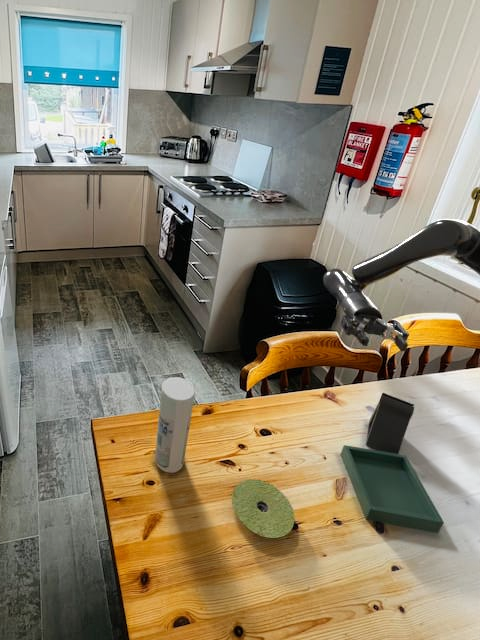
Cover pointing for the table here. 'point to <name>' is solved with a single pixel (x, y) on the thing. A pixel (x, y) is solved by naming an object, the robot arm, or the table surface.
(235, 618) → the table surface
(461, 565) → the table surface
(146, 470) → the table surface
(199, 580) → the table surface
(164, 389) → the spray can
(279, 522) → the green abrasive disc
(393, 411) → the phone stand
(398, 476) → the tray
